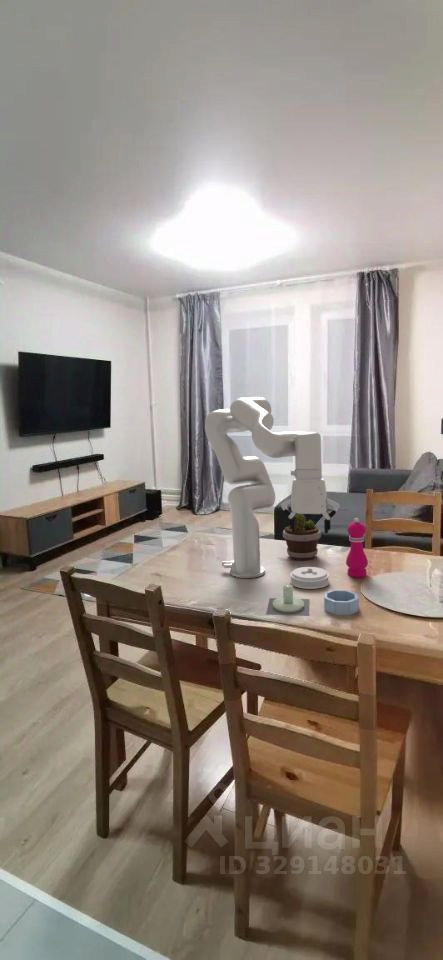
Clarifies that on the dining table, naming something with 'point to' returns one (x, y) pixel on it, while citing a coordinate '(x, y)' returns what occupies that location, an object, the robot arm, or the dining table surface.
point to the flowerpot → (302, 539)
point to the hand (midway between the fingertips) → (310, 531)
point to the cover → (288, 601)
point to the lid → (309, 577)
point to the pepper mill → (356, 550)
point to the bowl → (341, 602)
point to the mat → (274, 612)
